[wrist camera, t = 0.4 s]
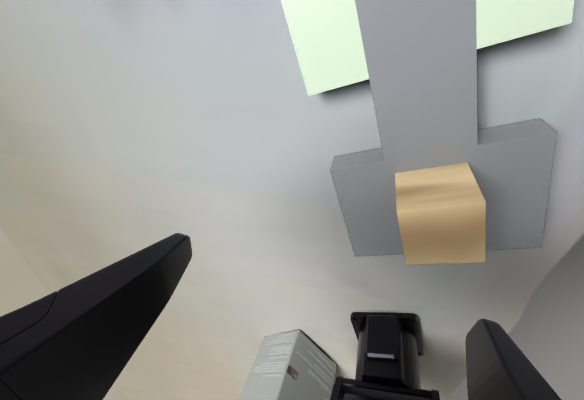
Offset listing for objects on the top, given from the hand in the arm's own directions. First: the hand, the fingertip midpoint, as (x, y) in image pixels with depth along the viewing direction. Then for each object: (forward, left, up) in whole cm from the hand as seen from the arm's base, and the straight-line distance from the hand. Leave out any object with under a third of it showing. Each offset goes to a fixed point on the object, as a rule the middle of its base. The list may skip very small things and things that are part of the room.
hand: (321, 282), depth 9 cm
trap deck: (-1, -4, -13) cm, 14 cm away
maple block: (-5, -4, -11) cm, 13 cm away
